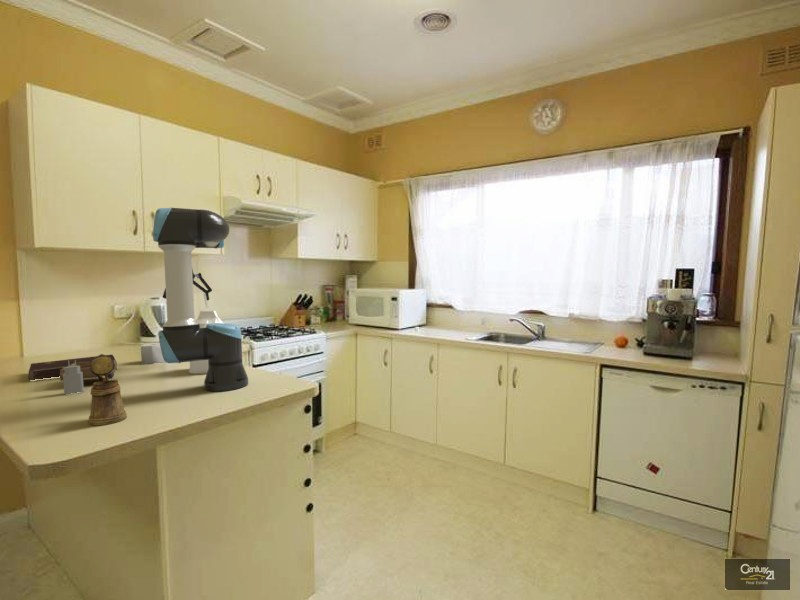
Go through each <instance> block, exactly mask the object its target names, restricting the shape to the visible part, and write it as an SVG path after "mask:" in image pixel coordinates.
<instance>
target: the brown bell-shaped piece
mask: <svg viewBox="0 0 800 600" xmlns="http://www.w3.org/2000/svg"><path fill="white" fill-rule="evenodd" d="M106 355H107V354H103V353H101V354H99V355H96V356H97V357H95V358H94V359H93V360H92V361H91V362H90V370H91V372H92V373H93V374H95V375H97V376H98V378H97V379H98V380H97V382H92V388H90V395H91V401H90V402H91V403H90V404H91V405H90V414H89V416H88V424H89V425H91V426H104V425H111V424H116V423H118V422H121V421H124V420H126V419H127V418H128V416H127V415H128V414H127V410H126V409H125V406H124V402H123V398H122V395H121V394H122V393H121V386H120V383H119V381H118V379H111V380H110V378H109V375H108V374H109V373H111V372H112V371H113V370H114V367H115V363H114V360H113V359H112V358H111V357H109V356H106ZM103 374H104V375H103Z"/></svg>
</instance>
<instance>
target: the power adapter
mask: <svg viewBox="0 0 800 600" xmlns="http://www.w3.org/2000/svg"><path fill="white" fill-rule="evenodd" d="M62 382H63V394H71V393H77V392H83V391H85V390H84V379H83V373H82V372H80V366H76V360H75V366H70V365H69V360H68V367H65V374H63V381H62ZM83 393H84V392H83ZM71 395H72V394H71Z"/></svg>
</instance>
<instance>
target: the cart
mask: <svg viewBox="0 0 800 600" xmlns="http://www.w3.org/2000/svg"><path fill="white" fill-rule="evenodd" d="M114 363H115V367H114V370H116V363H117V360H116V359H115V360H114ZM70 366H75V363H73V364H71V365H70ZM76 366H80V372H82V373H83V380H85V379H96V378H97V379H98V376H97V375H95V374H93V373H92V372H91V370H90V362H78V363H76ZM67 367H68V366H67ZM114 370H113V371H112V372H111V373H109V374H108V375H109V379H110V378H111V377H113V378H114V373H115V371H114ZM63 374H65V368H63V369H61V370H60V378H59V379H60V382H63ZM103 375H104V374H103Z"/></svg>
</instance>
